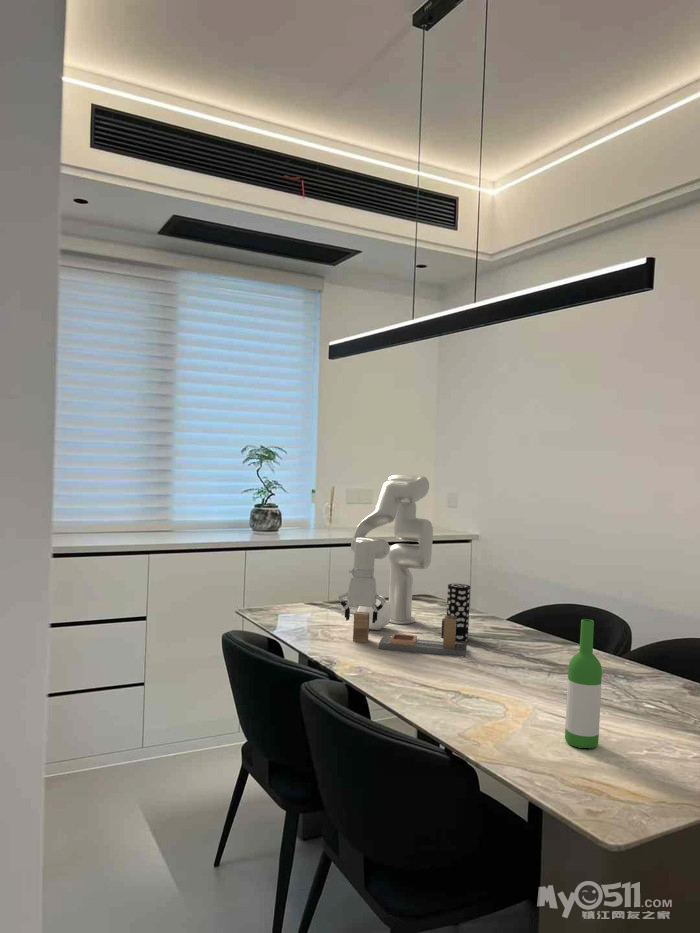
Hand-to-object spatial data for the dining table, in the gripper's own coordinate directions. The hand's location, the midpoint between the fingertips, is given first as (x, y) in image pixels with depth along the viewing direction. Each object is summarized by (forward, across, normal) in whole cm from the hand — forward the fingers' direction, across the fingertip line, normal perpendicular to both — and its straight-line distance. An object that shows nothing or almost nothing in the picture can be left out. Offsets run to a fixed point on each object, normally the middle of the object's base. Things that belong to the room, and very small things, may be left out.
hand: (360, 621), depth 258 cm
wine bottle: (+9, +67, -75) cm, 101 cm away
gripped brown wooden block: (+7, 0, +1) cm, 7 cm away
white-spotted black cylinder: (+7, +34, +16) cm, 38 cm away
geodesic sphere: (+7, +2, +20) cm, 21 cm away
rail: (+7, +23, -3) cm, 24 cm away
